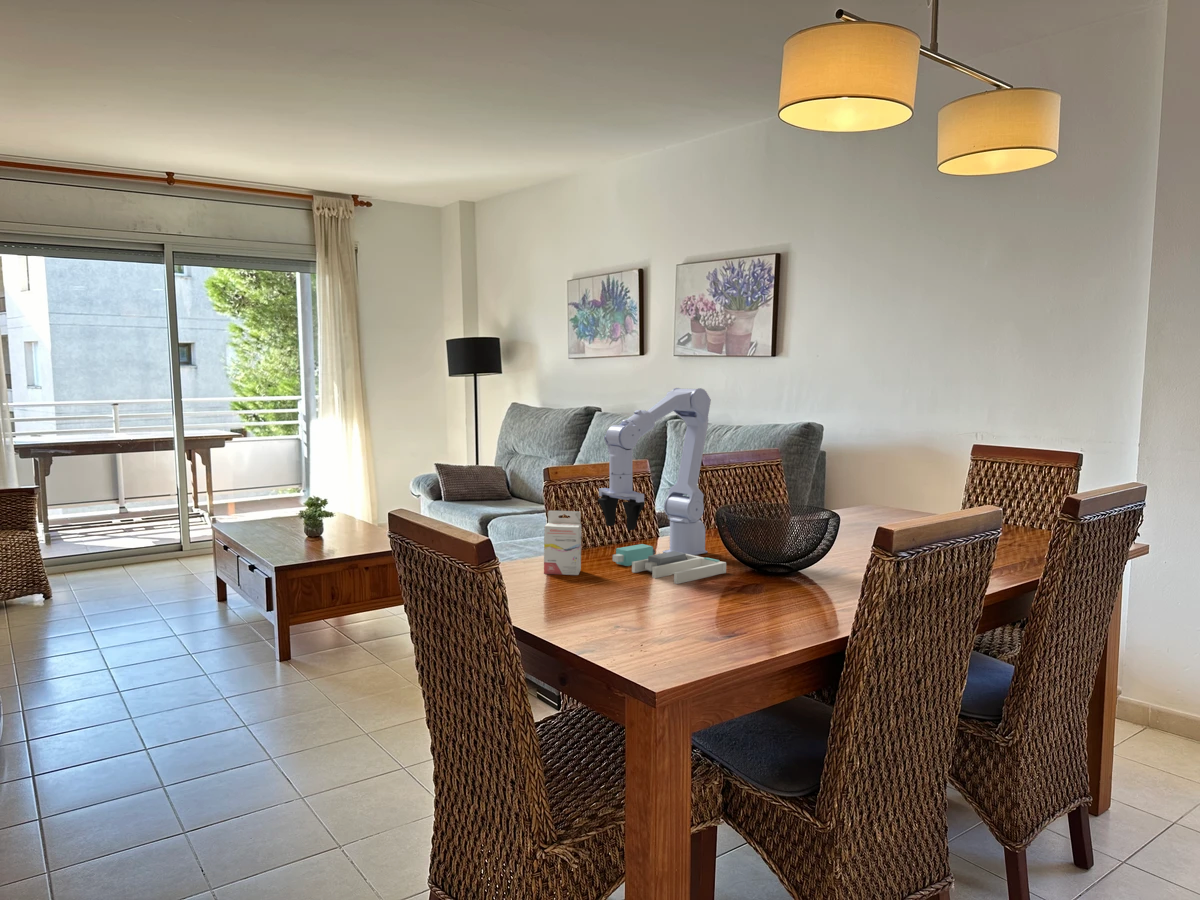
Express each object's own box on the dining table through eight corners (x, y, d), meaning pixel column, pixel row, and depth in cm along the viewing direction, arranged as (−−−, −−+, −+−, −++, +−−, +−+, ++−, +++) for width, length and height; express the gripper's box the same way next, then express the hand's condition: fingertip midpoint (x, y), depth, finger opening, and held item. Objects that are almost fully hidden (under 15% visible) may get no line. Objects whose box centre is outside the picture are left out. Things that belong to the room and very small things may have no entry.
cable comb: (679, 561, 210) (680, 551, 210) (726, 572, 199) (726, 561, 199) (631, 572, 199) (631, 561, 199) (677, 584, 188) (677, 572, 187)
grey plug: (679, 565, 207) (679, 550, 207) (691, 568, 204) (691, 552, 204) (642, 573, 198) (642, 557, 198) (653, 576, 195) (654, 560, 195)
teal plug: (647, 558, 215) (647, 542, 215) (658, 560, 212) (658, 545, 212) (610, 565, 207) (610, 549, 207) (620, 568, 204) (620, 552, 204)
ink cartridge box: (543, 574, 196) (543, 513, 195) (546, 569, 201) (546, 510, 200) (579, 575, 195) (579, 514, 194) (581, 570, 200) (581, 510, 199)
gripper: (589, 472, 207) (589, 525, 208) (629, 477, 196) (629, 534, 197) (610, 469, 211) (610, 522, 213) (650, 475, 200) (650, 530, 202)
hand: (621, 527), depth 205 cm, fingers open, 7 cm apart
